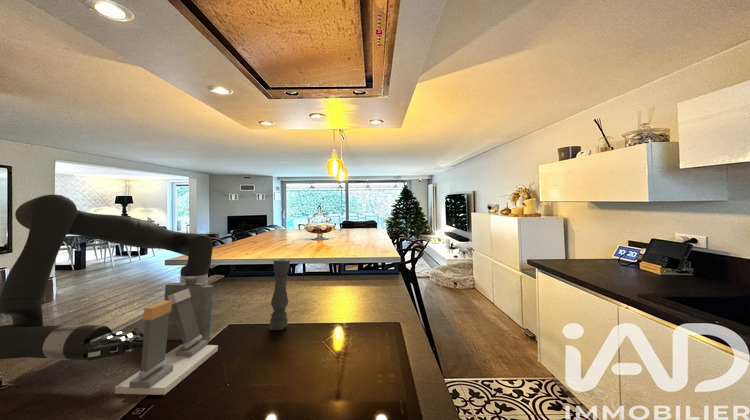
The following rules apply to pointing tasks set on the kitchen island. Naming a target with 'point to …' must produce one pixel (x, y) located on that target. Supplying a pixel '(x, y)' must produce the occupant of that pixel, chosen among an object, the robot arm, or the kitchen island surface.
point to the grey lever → (185, 318)
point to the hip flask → (200, 304)
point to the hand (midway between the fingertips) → (152, 343)
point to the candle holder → (280, 294)
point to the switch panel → (169, 370)
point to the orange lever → (155, 337)
